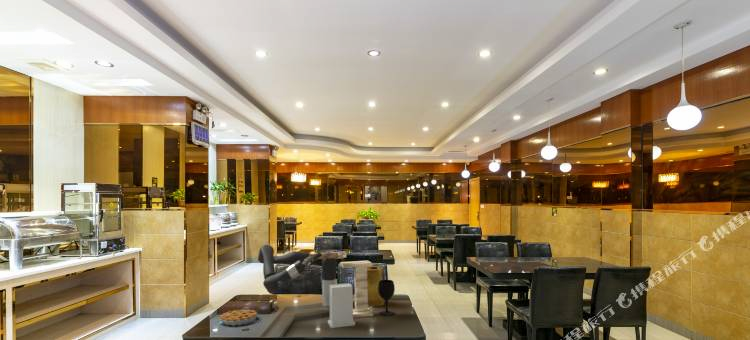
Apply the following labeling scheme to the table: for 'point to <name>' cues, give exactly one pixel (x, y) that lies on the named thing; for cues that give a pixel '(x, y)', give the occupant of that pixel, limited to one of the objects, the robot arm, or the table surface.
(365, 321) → the table surface
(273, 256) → the robot arm
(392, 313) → the wine glass
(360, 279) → the square pedestal column
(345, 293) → the white flanged block
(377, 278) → the pitcher
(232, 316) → the pie
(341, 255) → the peg
